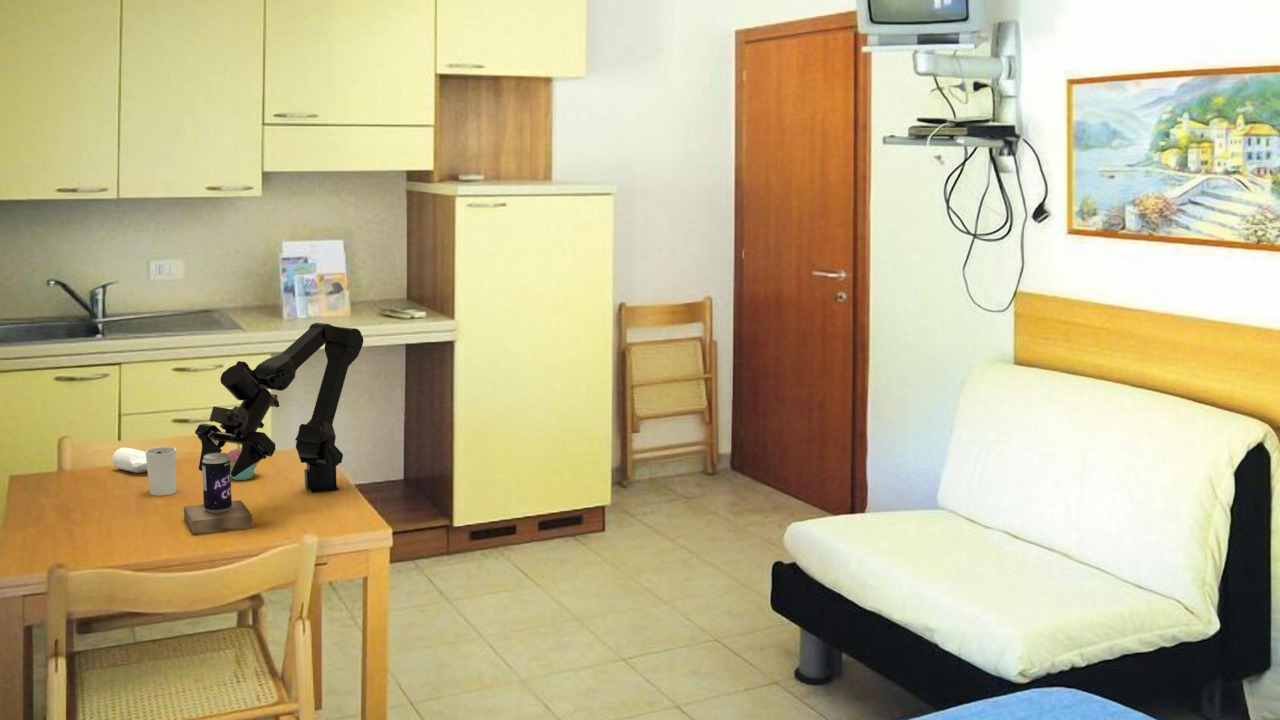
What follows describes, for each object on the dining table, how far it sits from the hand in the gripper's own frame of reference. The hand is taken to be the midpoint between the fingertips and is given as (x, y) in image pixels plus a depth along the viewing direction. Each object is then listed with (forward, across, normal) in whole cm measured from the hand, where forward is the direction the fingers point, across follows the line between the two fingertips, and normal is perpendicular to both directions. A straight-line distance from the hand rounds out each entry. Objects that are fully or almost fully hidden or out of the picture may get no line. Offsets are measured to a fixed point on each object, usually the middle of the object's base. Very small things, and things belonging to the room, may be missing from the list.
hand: (216, 473), depth 281 cm
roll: (-7, -49, +24) cm, 55 cm away
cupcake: (-14, -23, +30) cm, 40 cm away
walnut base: (+8, 0, +8) cm, 11 cm away
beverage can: (+6, 0, +6) cm, 8 cm away
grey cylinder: (0, -29, +16) cm, 34 cm away
